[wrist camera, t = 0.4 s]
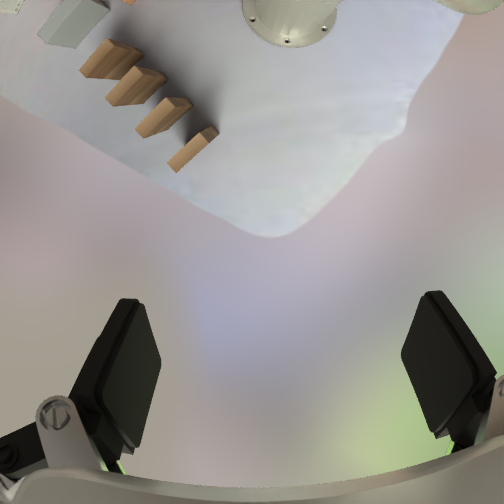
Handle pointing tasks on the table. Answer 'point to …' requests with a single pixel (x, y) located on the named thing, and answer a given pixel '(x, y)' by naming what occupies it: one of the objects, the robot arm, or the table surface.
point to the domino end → (129, 1)
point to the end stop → (72, 22)
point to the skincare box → (10, 6)
